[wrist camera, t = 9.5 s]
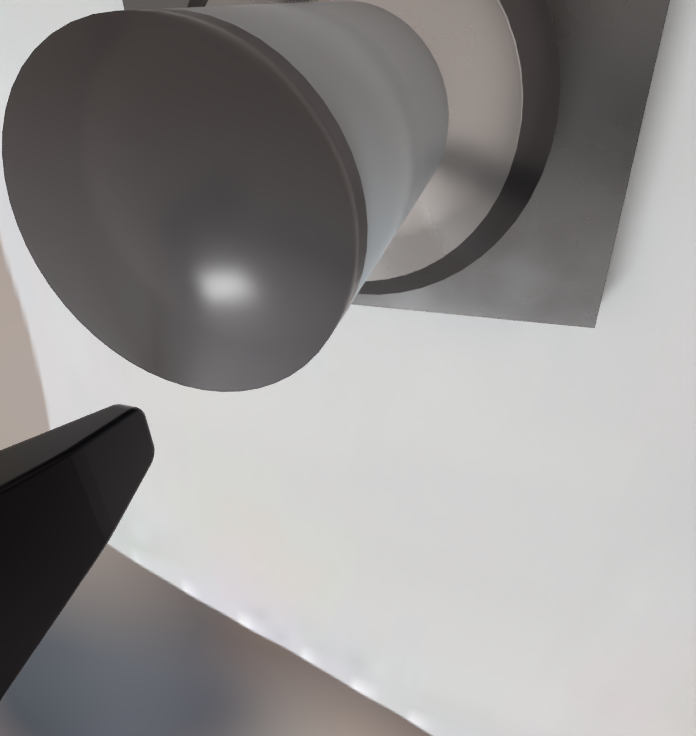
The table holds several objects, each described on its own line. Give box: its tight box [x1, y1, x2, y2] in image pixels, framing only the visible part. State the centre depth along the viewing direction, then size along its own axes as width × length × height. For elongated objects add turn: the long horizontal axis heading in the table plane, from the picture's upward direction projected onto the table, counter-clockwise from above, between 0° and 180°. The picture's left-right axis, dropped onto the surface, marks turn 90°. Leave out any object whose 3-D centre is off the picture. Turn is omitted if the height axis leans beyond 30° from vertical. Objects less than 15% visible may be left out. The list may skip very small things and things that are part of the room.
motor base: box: [122, 0, 670, 328], centre depth 15 cm, size 14×12×3 cm
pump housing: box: [2, 1, 449, 392], centre depth 10 cm, size 5×5×8 cm
